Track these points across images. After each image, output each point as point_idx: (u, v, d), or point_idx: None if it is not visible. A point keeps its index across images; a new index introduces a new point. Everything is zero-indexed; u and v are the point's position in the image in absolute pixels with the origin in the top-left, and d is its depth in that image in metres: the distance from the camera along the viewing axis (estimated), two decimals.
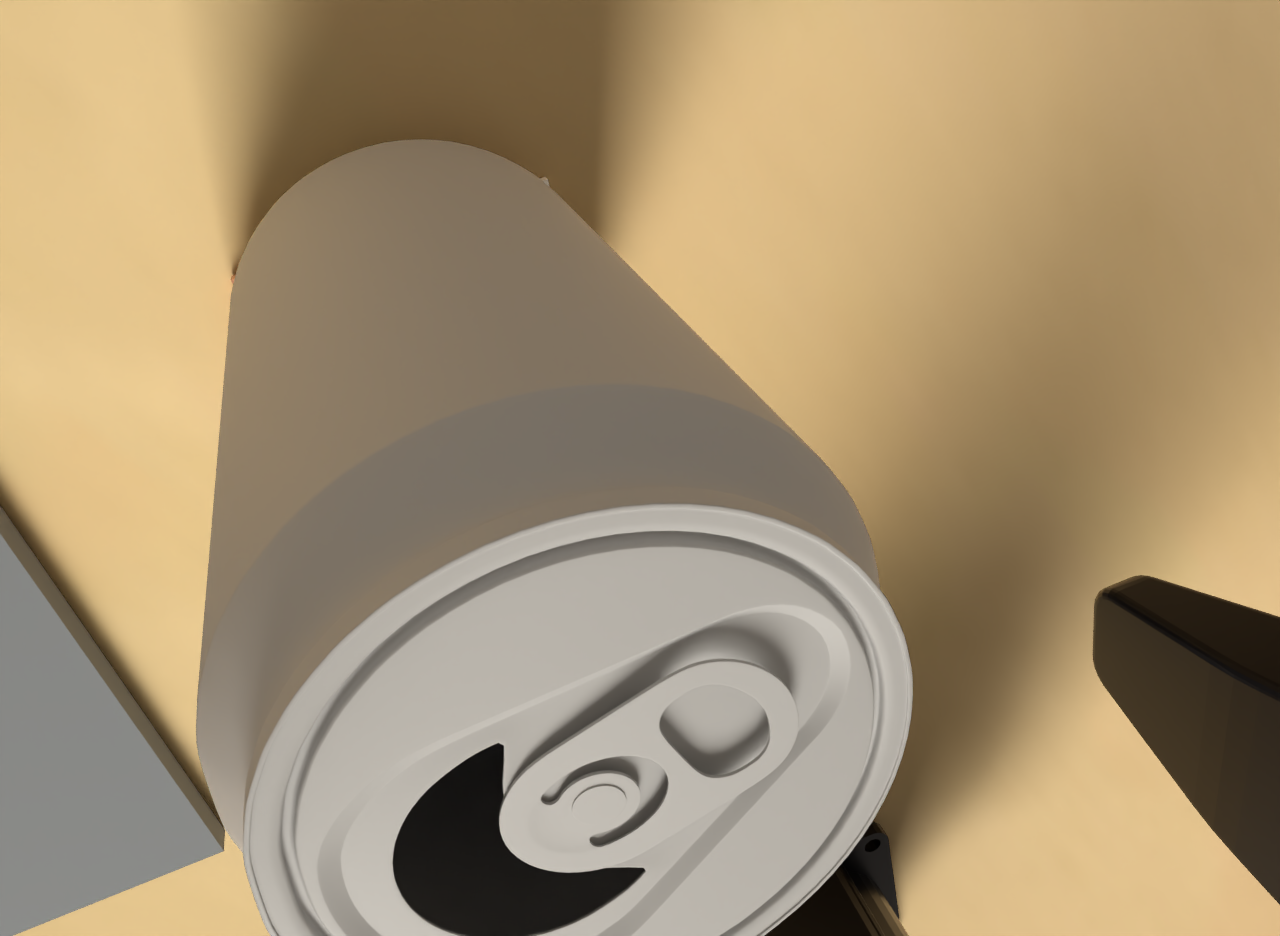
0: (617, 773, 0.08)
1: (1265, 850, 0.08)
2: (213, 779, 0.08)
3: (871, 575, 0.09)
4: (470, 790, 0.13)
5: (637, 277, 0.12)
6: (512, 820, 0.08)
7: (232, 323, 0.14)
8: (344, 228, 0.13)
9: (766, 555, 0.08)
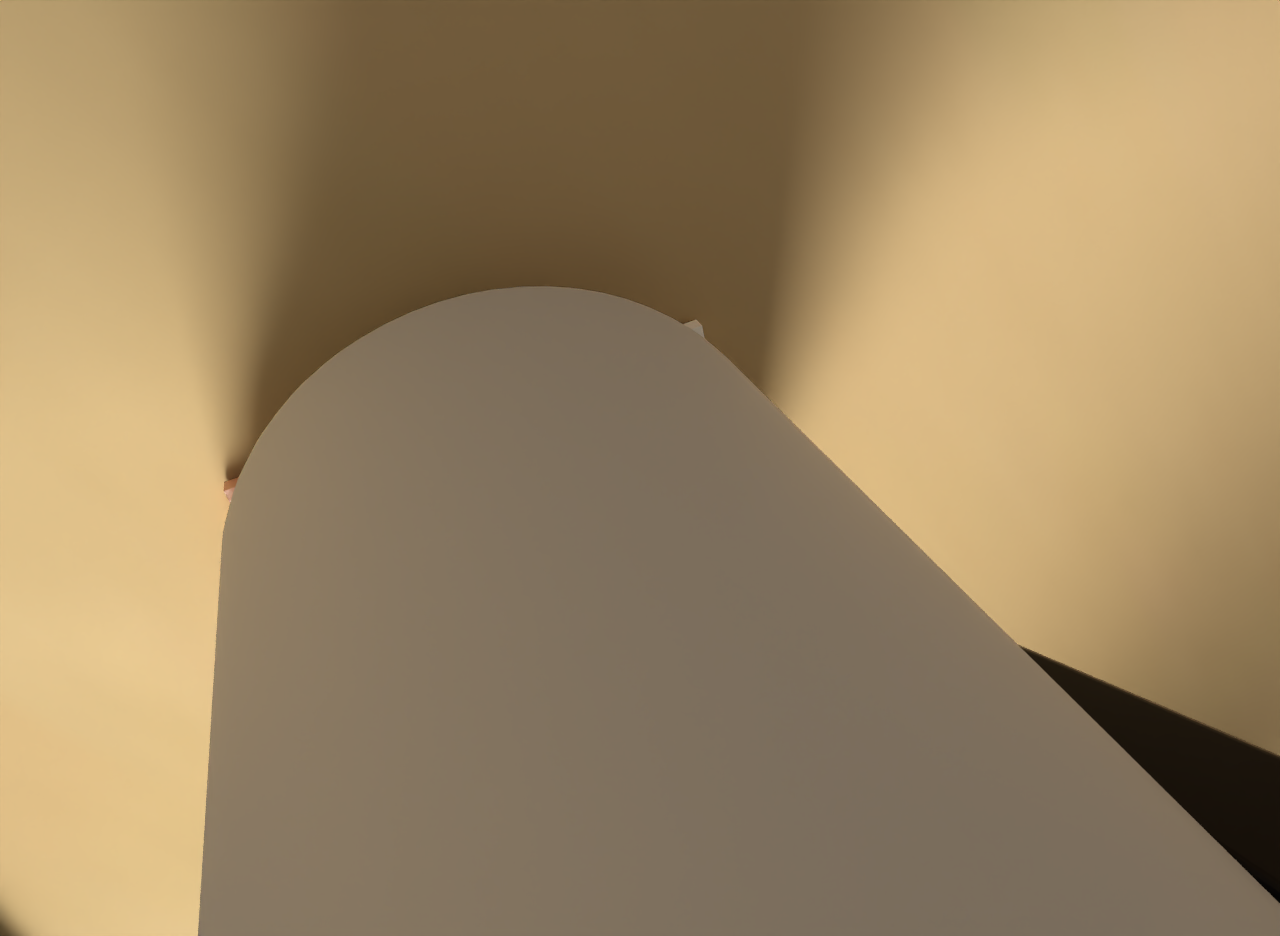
0: None
1: None
2: None
3: None
4: None
5: (1003, 635, 0.07)
6: None
7: (224, 640, 0.08)
8: (437, 535, 0.07)
9: None
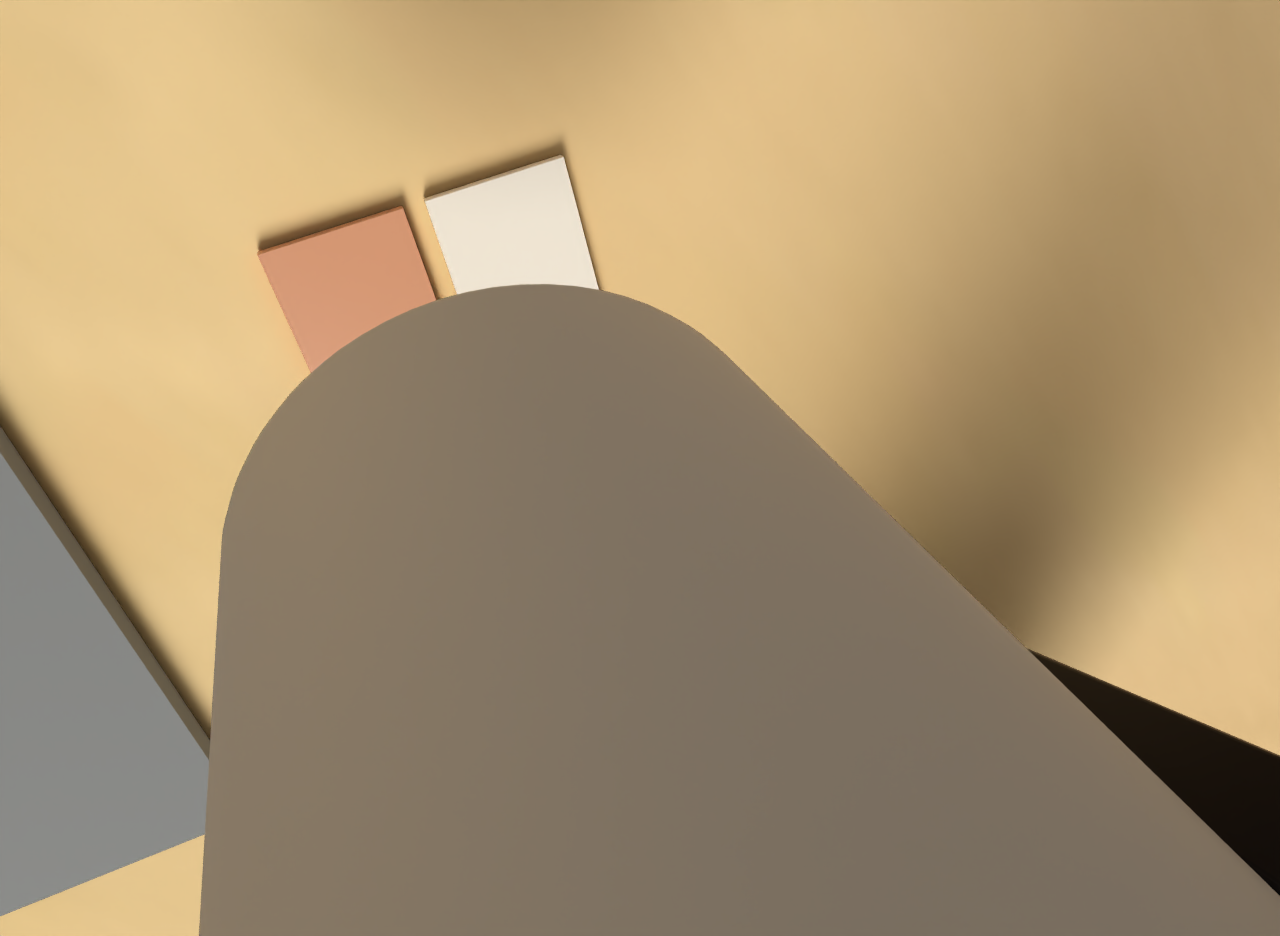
0: None
1: None
2: None
3: None
4: None
5: (1003, 630, 0.07)
6: None
7: (224, 638, 0.08)
8: (438, 532, 0.07)
9: None
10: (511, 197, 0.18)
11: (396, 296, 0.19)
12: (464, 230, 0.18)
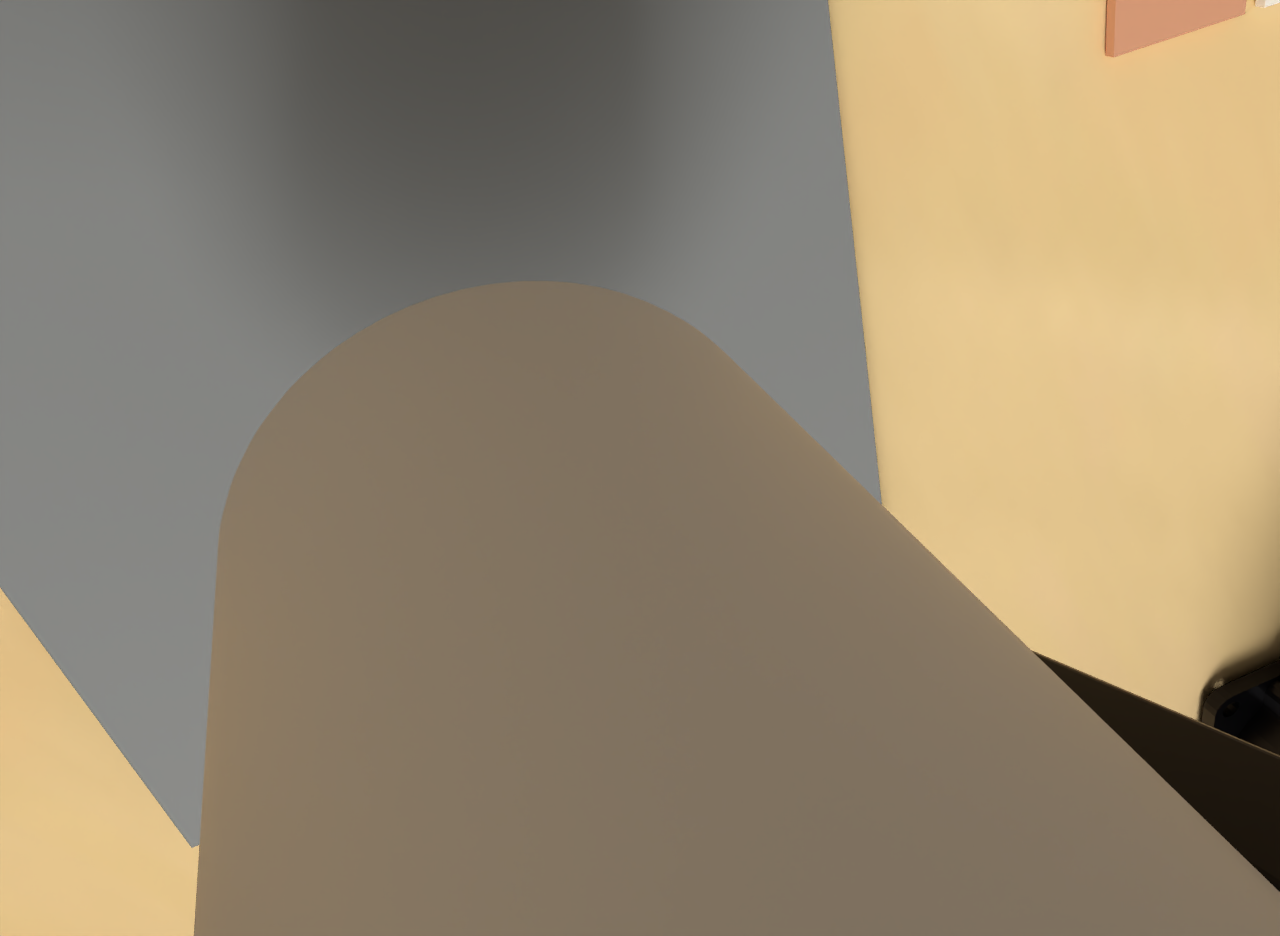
0: None
1: None
2: None
3: None
4: None
5: (1003, 627, 0.06)
6: None
7: (220, 636, 0.08)
8: (434, 528, 0.07)
9: None
10: None
11: None
12: None
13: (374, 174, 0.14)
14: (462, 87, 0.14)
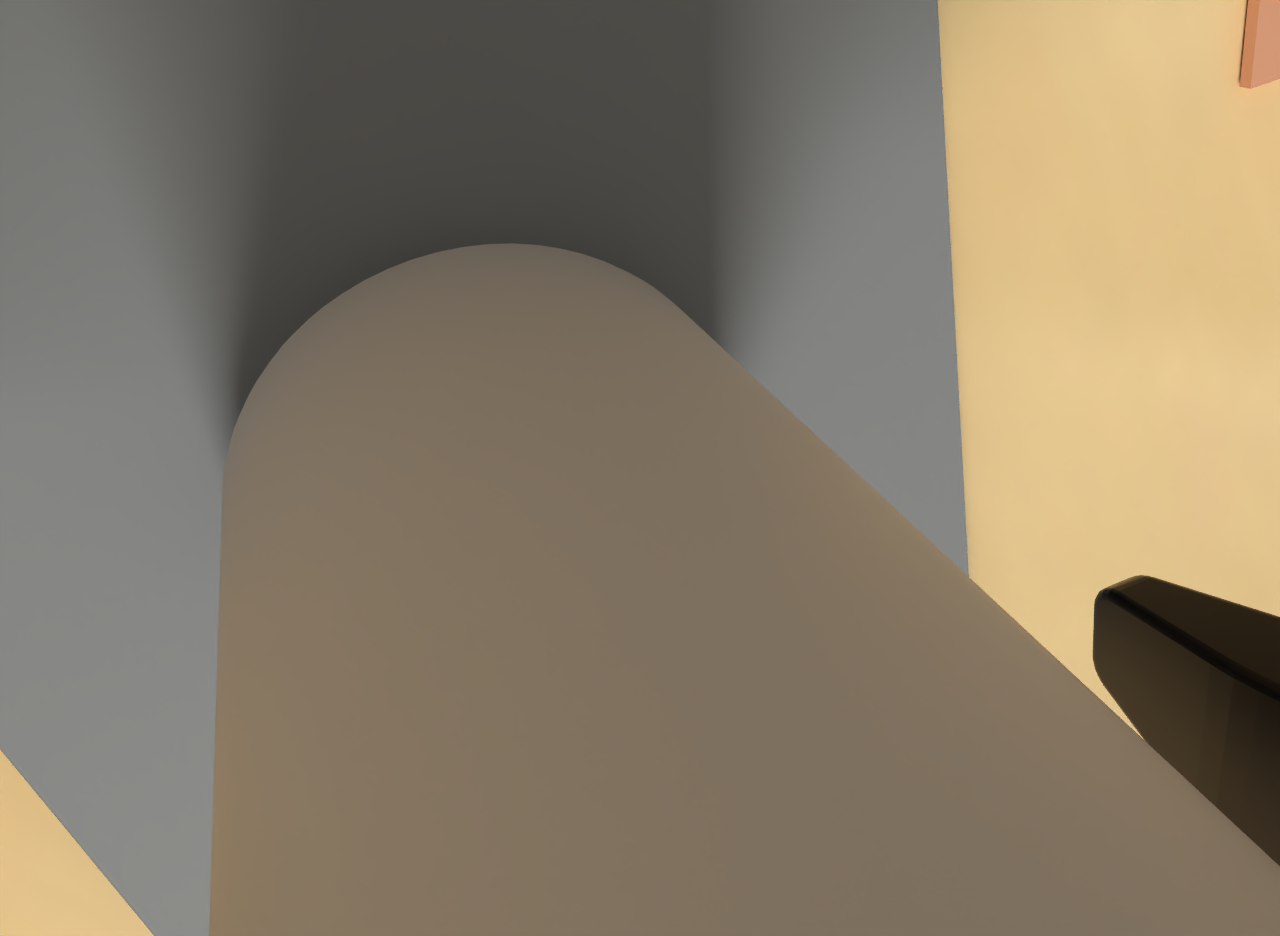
0: None
1: (1266, 850, 0.08)
2: None
3: None
4: None
5: (896, 513, 0.08)
6: None
7: (227, 556, 0.09)
8: (409, 442, 0.08)
9: None
10: None
11: None
12: None
13: (408, 235, 0.12)
14: (513, 132, 0.11)
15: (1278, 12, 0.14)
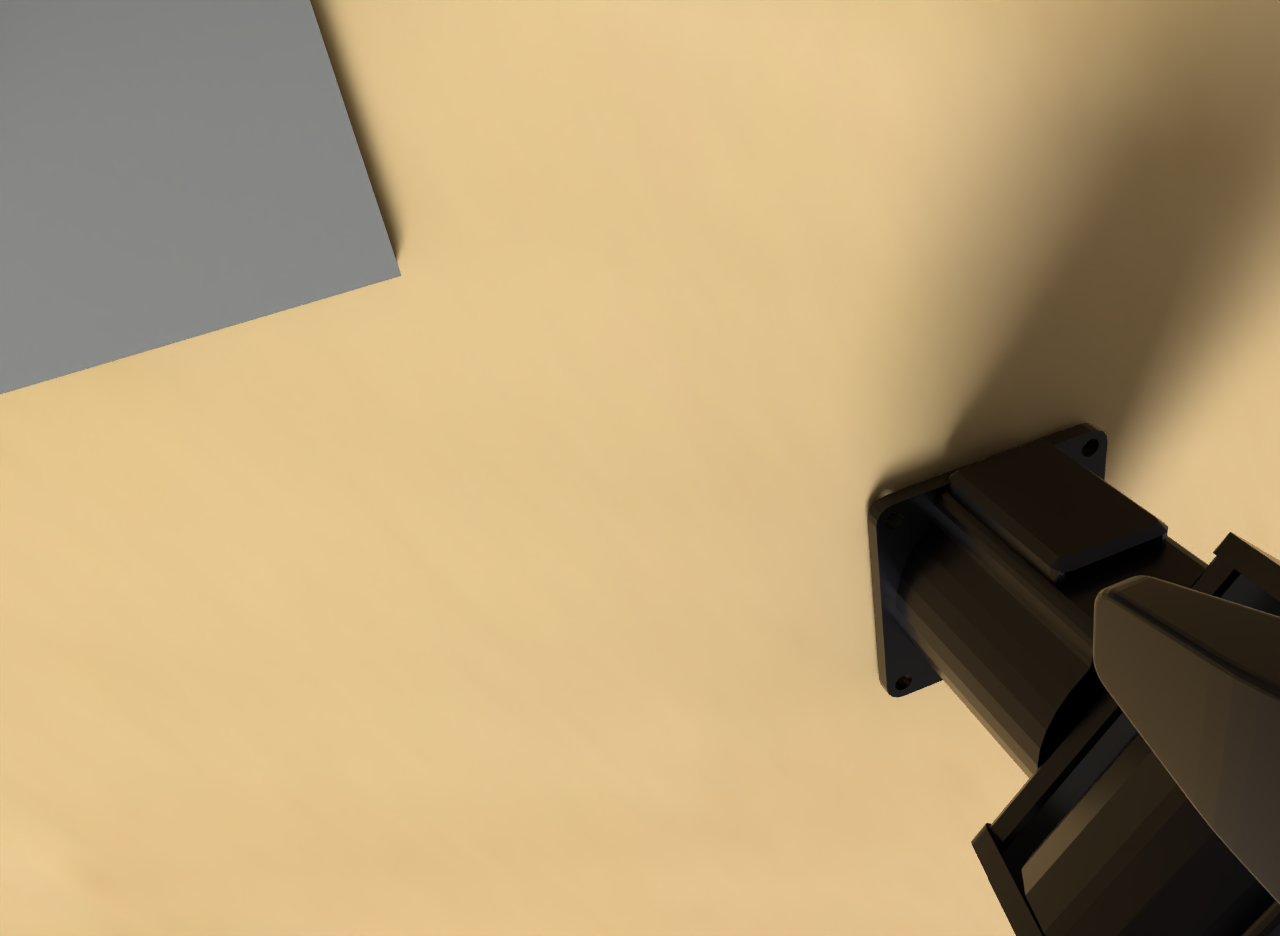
0: None
1: (1265, 850, 0.08)
2: None
3: None
4: None
5: None
6: None
7: None
8: None
9: None
10: None
11: None
12: None
13: None
14: None
15: None
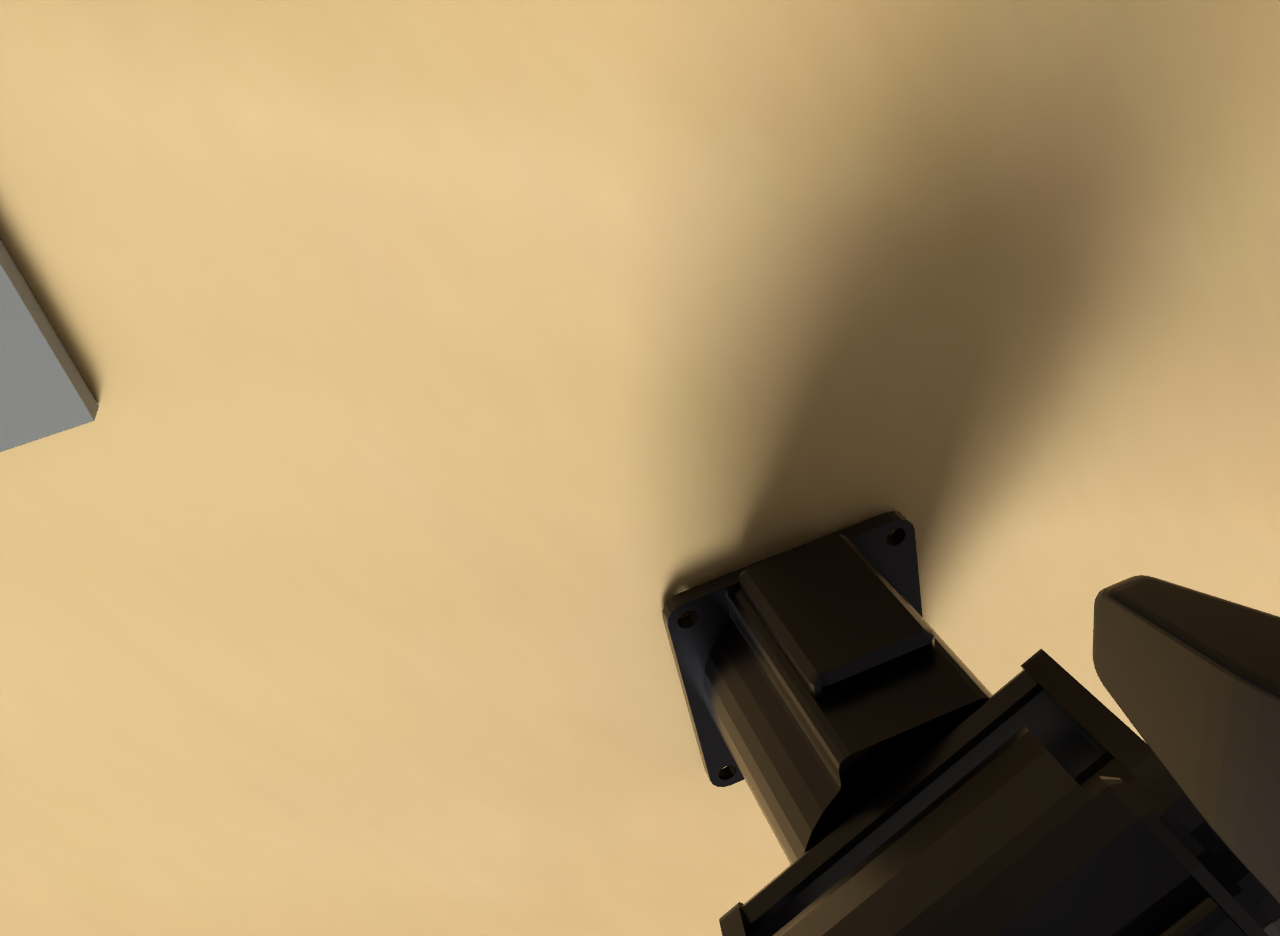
0: None
1: (1265, 850, 0.08)
2: None
3: None
4: None
5: None
6: None
7: None
8: None
9: None
10: None
11: None
12: None
13: None
14: None
15: None
